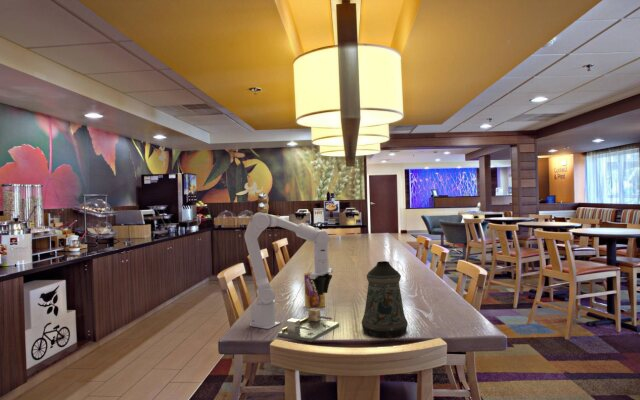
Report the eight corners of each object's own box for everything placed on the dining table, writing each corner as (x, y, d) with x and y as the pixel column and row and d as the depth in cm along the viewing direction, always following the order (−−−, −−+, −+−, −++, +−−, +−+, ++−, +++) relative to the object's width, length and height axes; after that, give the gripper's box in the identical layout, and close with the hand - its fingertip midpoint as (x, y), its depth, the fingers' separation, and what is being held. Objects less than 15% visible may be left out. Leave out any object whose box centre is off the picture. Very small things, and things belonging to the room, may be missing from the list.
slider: (308, 320, 166) (308, 310, 166) (312, 318, 169) (312, 308, 169) (329, 323, 161) (329, 313, 161) (333, 321, 163) (333, 311, 163)
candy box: (324, 304, 195) (323, 271, 195) (325, 306, 191) (324, 272, 191) (305, 305, 194) (303, 272, 194) (305, 308, 190) (304, 273, 190)
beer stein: (367, 340, 146) (364, 267, 145) (356, 323, 165) (354, 259, 165) (414, 337, 147) (411, 265, 147) (398, 320, 167) (396, 257, 166)
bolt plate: (278, 335, 153) (277, 329, 153) (309, 320, 170) (308, 315, 170) (310, 342, 146) (310, 335, 146) (339, 325, 163) (339, 320, 163)
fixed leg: (287, 331, 154) (286, 320, 154) (292, 329, 157) (291, 318, 157) (309, 335, 149) (308, 324, 149) (314, 333, 152) (313, 321, 152)
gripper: (320, 263, 163) (321, 298, 164) (338, 257, 176) (340, 290, 176) (305, 262, 167) (306, 296, 167) (324, 257, 179) (325, 289, 180)
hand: (322, 293), depth 172 cm, fingers open, 3 cm apart
